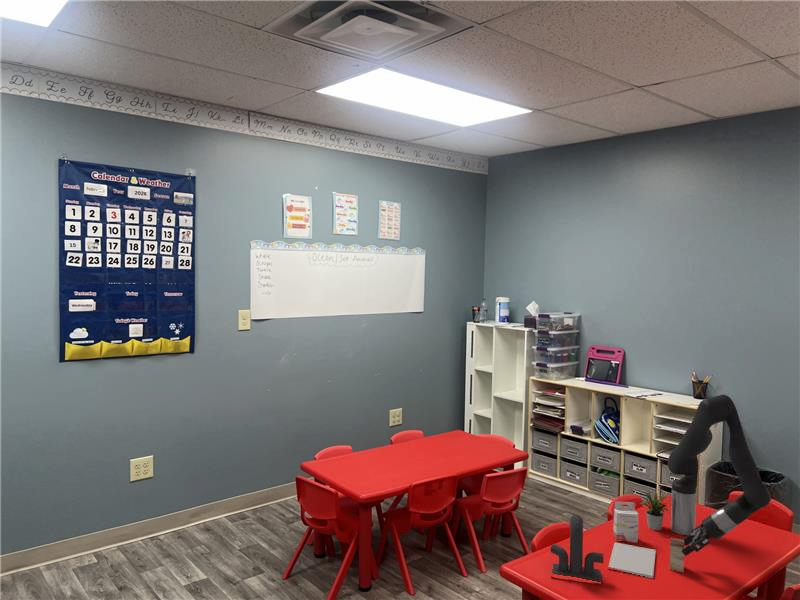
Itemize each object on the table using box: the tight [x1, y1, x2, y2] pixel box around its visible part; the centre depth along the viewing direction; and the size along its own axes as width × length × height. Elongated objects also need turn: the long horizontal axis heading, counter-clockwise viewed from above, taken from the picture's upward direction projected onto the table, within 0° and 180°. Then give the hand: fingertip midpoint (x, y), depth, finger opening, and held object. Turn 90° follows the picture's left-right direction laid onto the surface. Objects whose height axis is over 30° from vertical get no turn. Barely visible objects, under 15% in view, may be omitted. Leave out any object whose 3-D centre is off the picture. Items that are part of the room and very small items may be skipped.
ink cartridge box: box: [612, 501, 639, 543], centre depth 242 cm, size 9×5×15 cm, turn 84°
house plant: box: [635, 488, 671, 531], centre depth 254 cm, size 14×14×16 cm
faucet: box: [550, 513, 604, 583], centre depth 217 cm, size 18×16×20 cm
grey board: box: [607, 541, 657, 579], centre depth 225 cm, size 22×15×1 cm
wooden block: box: [669, 537, 685, 573], centre depth 219 cm, size 4×4×10 cm
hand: (683, 548), depth 218 cm, fingers open, 8 cm apart
